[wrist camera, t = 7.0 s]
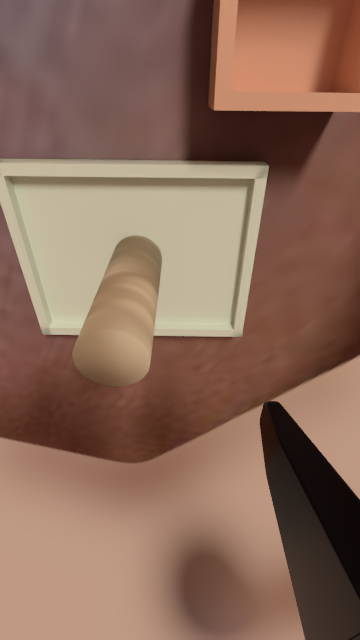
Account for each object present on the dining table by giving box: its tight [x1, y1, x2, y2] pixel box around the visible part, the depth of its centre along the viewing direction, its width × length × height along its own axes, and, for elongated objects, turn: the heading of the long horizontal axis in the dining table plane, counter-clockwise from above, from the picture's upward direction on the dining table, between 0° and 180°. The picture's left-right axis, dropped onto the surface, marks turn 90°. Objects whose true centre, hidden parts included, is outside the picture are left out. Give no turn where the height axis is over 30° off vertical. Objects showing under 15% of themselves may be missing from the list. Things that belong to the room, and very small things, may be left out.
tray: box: [0, 158, 269, 337], centre depth 20 cm, size 14×11×1 cm
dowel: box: [72, 235, 162, 387], centre depth 16 cm, size 3×3×9 cm
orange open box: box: [208, 0, 360, 112], centre depth 12 cm, size 6×6×4 cm
